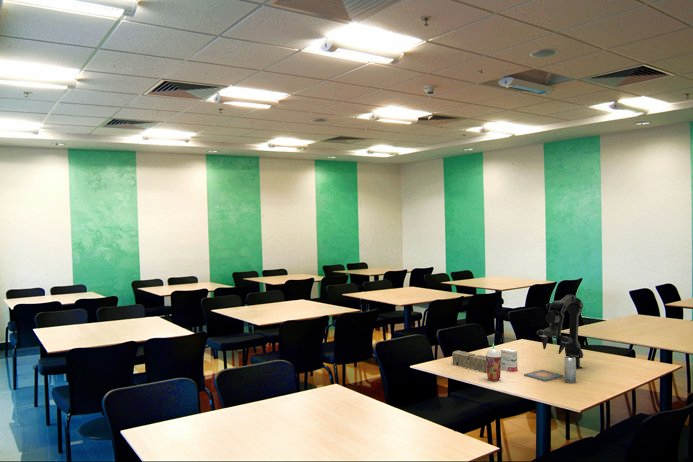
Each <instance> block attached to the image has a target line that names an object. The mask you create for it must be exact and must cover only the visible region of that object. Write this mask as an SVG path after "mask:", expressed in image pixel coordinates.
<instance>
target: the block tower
mask: <svg viewBox="0 0 693 462" xmlns="http://www.w3.org/2000/svg"><path fill="white" fill-rule="evenodd" d="M451 353H452V365H453V366H458V367H460V366H461V368H464V367H465V368H466V369H468V368H469V370H472V369H473V371H476V370H478V371H477V372H481V371H482V372H481V373H486V374H487V365H486V355H482V354H478V355H476V354H475V353H472V352H467V351H463V350H454V351H453V352H451Z"/></svg>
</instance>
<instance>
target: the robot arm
mask: <svg viewBox="0 0 693 462" xmlns="http://www.w3.org/2000/svg"><path fill="white" fill-rule="evenodd" d="M583 308H584V303H583V301H582V299H580V298H578V297H577V296H576V295H574V294H565V296H564V297H563V298H561V299H559V300H553V301H552V302H551V303H550V305H549V307H548V311H547V314H545V317H544V320H545V322H546V323H547V324H549V326H548V327H546V328H544V329H538V330H537V331H536V335H538V337H539V338H540V339H541V342H542V348H543V350H546V349H547V344H548V341H549V338H553V339H556V340H559V348H558V352H557V354H559V355H560V354H561V353H562V351H564V354H565V357H567V356H570V357H575V358H576V370H577V369H581V368H583V366H582V365H581V359H583V358H584V352H583V349H582V348H581V343H580V341H579V339H578V338H579V323H580V321H579V318H580V315H581V313H582V312H583ZM566 310H567V313H569V332H568V333H569V335H568V336H564V335H562V330H563V328H564V327H563V323H564V318H565V312H566Z"/></svg>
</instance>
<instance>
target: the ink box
mask: <svg viewBox="0 0 693 462" xmlns="http://www.w3.org/2000/svg"><path fill="white" fill-rule="evenodd" d="M500 354H501V371H502V370H503V371H506V372H507V371H508V372H510V373H511V372H512V373H514V372H517V371H518V367H519V366H518V350H514V349H509V348H502V349H500Z"/></svg>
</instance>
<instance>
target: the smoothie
mask: <svg viewBox="0 0 693 462" xmlns="http://www.w3.org/2000/svg"><path fill="white" fill-rule="evenodd" d="M485 356H486V365H487V373H486V376H487V380H488V381H490V382H498V381H500V379H501V371H502V369H501V351H499V350H498V349H497V348H495V343H492V348H489V349H488V350H487V351H486V353H485Z"/></svg>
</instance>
